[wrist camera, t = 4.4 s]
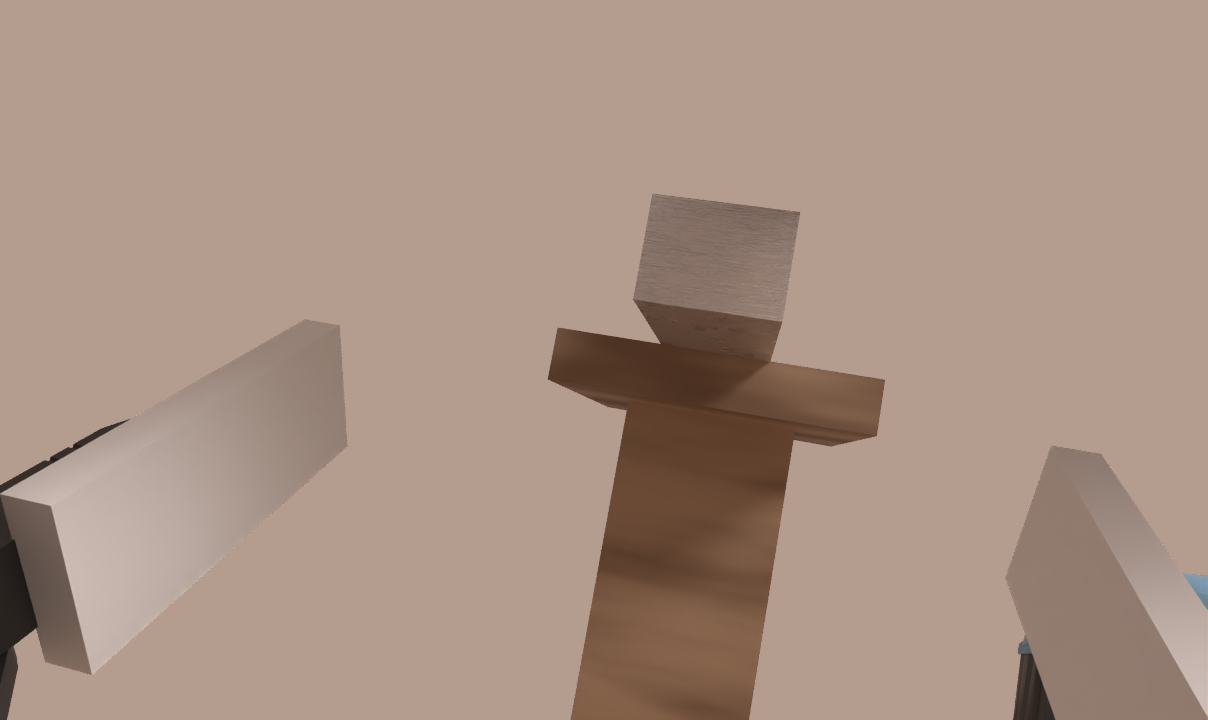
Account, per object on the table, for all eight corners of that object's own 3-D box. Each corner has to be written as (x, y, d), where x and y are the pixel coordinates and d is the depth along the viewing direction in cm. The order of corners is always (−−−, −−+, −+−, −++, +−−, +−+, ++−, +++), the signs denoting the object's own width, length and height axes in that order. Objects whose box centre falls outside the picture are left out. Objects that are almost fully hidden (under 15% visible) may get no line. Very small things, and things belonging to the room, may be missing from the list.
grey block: (688, 386, 45) (697, 335, 45) (758, 398, 44) (767, 346, 45) (633, 299, 22) (652, 193, 22) (782, 321, 21) (800, 212, 21)
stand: (498, 896, 41) (596, 368, 44) (770, 979, 38) (856, 411, 41) (378, 1110, 27) (532, 323, 30) (787, 1261, 25) (914, 384, 28)
